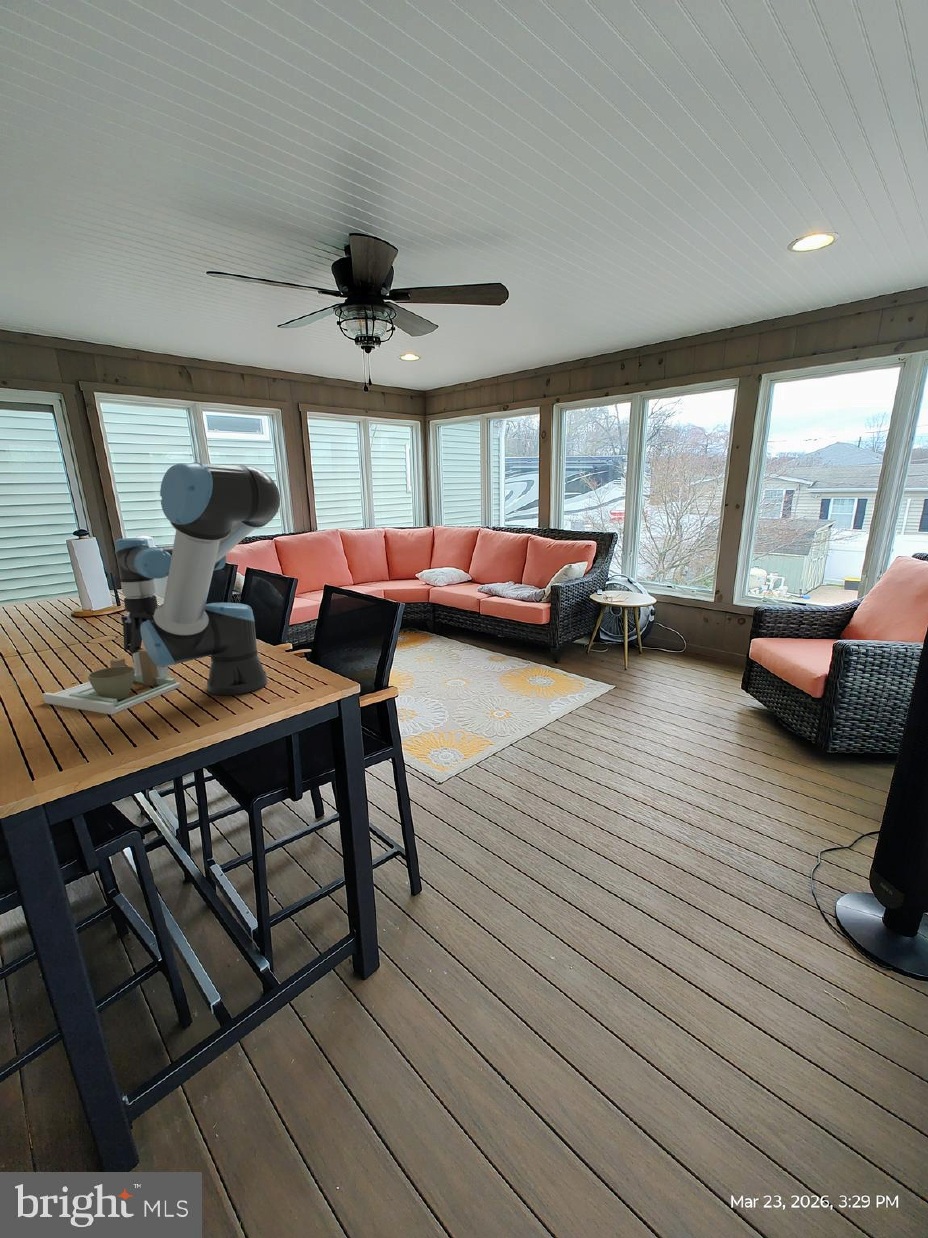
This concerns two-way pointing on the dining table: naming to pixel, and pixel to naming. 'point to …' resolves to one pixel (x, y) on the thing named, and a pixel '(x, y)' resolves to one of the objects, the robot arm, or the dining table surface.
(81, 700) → the frame
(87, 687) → the pale long handled piece
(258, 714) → the dining table surface
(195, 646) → the robot arm
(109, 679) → the olive green bowl
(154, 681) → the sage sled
